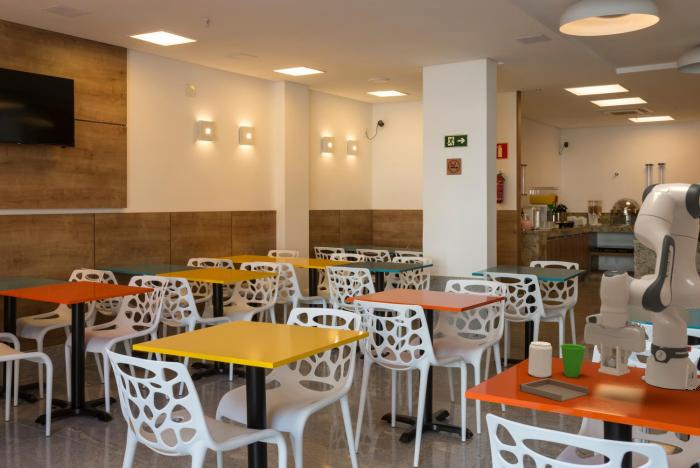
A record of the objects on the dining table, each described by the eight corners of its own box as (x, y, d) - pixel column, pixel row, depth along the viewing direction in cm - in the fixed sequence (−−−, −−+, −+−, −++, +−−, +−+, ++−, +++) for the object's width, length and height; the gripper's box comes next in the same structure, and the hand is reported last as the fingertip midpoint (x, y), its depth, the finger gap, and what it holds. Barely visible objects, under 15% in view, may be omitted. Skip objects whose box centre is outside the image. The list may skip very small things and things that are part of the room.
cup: (587, 375, 254) (588, 346, 254) (581, 380, 246) (582, 349, 246) (562, 371, 259) (564, 342, 258) (556, 376, 251) (557, 346, 251)
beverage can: (552, 378, 247) (553, 346, 246) (529, 377, 249) (530, 344, 248) (550, 373, 255) (551, 341, 254) (527, 372, 256) (528, 340, 256)
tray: (547, 383, 240) (547, 378, 240) (588, 394, 227) (588, 388, 227) (519, 390, 230) (519, 384, 230) (560, 401, 217) (560, 395, 217)
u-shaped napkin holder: (609, 368, 228) (610, 340, 228) (629, 372, 223) (630, 343, 222) (598, 371, 224) (598, 343, 223) (618, 376, 218) (618, 346, 218)
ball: (611, 364, 226) (611, 352, 225) (623, 368, 223) (623, 355, 222) (604, 369, 224) (603, 357, 223) (616, 373, 220) (615, 361, 219)
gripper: (650, 322, 216) (649, 365, 217) (592, 314, 232) (591, 354, 233) (639, 325, 212) (639, 369, 213) (581, 316, 228) (581, 357, 229)
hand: (614, 361), depth 223 cm, fingers closed on u-shaped napkin holder, 6 cm apart
